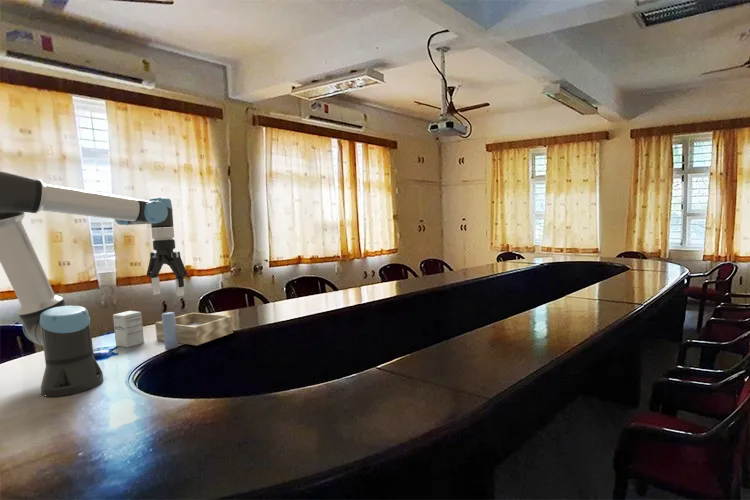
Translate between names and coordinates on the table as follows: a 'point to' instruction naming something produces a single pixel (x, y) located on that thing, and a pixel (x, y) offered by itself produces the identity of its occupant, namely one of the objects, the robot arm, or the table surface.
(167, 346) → the peg
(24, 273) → the robot arm
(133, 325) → the supplement box
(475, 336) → the table surface
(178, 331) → the crate
